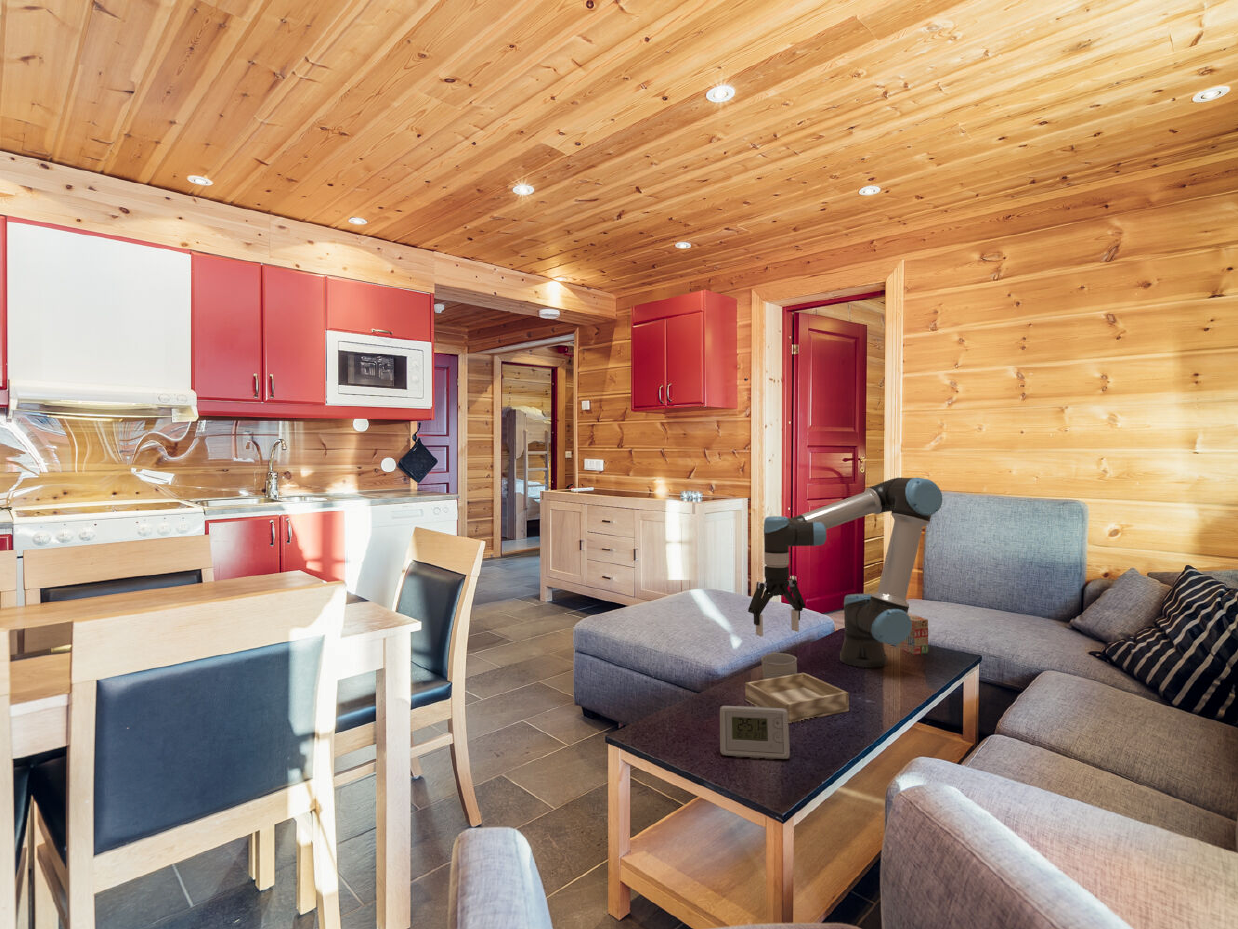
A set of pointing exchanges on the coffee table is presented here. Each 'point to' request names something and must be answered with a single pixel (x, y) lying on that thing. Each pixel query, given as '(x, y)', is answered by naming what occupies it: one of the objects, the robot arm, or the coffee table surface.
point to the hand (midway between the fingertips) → (777, 633)
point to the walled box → (798, 696)
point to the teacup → (778, 665)
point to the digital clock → (754, 732)
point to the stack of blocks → (916, 636)
